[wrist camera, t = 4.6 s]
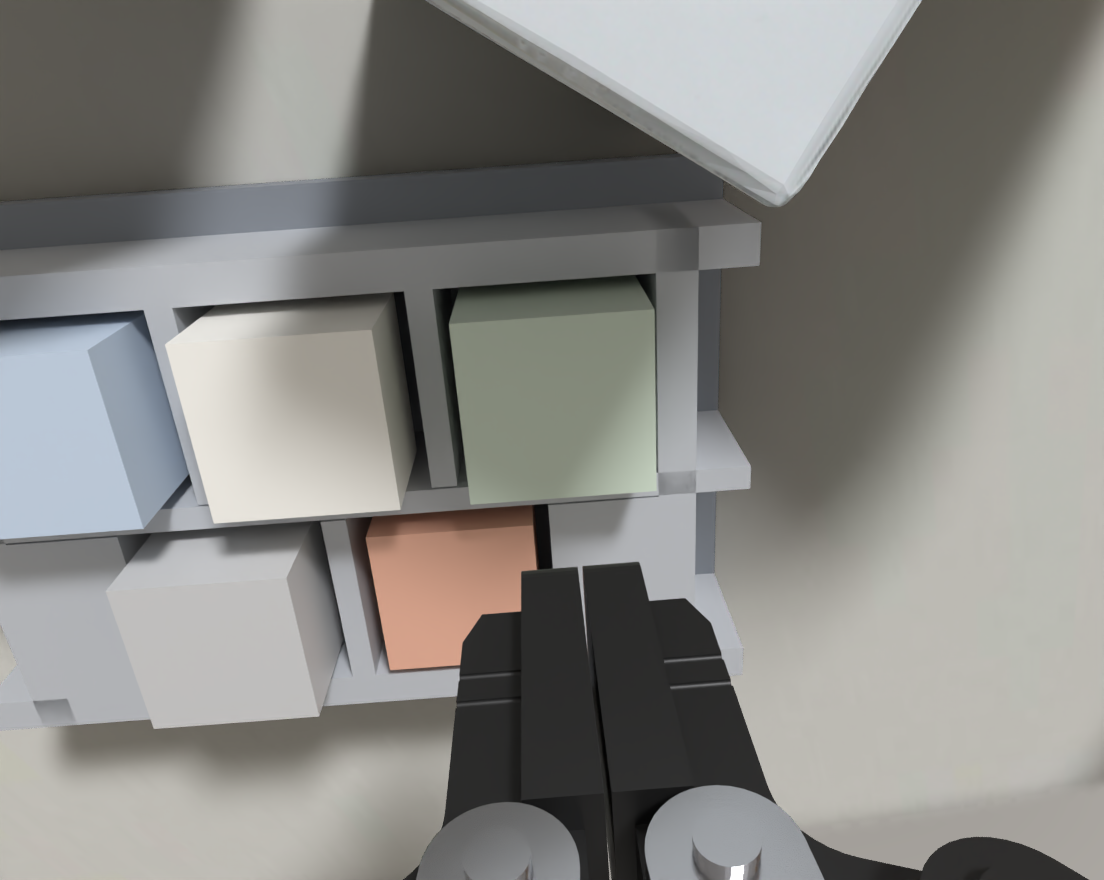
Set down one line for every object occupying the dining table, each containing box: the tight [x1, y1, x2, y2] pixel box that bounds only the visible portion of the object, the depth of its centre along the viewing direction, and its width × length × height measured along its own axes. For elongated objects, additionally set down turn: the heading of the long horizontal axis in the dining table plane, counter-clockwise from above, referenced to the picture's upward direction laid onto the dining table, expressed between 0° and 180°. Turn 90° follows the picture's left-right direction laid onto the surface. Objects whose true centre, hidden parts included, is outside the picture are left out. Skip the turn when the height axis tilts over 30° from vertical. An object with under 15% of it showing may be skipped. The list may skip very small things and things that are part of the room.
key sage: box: [449, 275, 657, 505], centre depth 18 cm, size 4×4×3 cm
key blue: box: [0, 310, 189, 539], centre depth 18 cm, size 4×4×3 cm
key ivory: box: [165, 292, 417, 524], centre depth 18 cm, size 4×4×3 cm
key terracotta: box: [366, 505, 540, 670], centre depth 22 cm, size 4×4×3 cm
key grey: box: [106, 521, 344, 729], centre depth 20 cm, size 4×4×3 cm
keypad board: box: [0, 154, 762, 731], centre depth 21 cm, size 20×14×4 cm
